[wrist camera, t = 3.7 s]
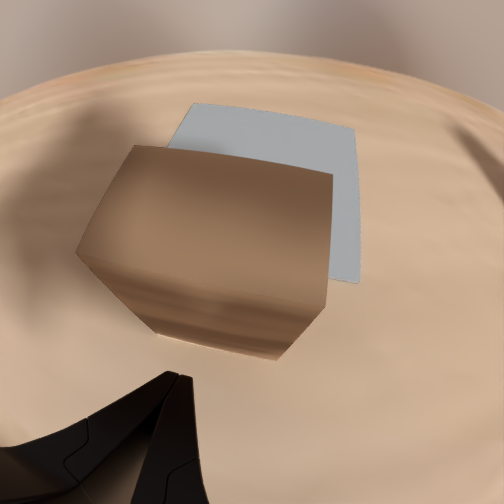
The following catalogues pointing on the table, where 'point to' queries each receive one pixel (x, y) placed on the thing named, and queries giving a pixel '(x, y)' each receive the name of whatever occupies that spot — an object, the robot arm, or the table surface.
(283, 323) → the walnut block
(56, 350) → the table surface
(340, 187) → the slate board
